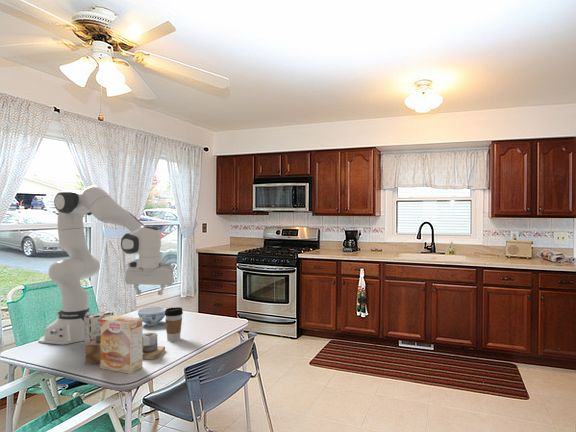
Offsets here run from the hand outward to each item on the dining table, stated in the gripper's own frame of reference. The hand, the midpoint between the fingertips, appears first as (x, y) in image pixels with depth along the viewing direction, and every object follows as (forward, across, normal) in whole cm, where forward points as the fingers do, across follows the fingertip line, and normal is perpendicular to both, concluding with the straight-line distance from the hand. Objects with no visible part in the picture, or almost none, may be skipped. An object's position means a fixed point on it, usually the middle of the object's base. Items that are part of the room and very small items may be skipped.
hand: (149, 294), depth 165 cm
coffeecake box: (+26, +4, +16) cm, 31 cm away
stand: (+26, +17, +10) cm, 32 cm away
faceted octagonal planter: (+20, -1, +2) cm, 21 cm away
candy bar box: (+26, +23, -2) cm, 35 cm away
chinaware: (+26, +15, -43) cm, 53 cm away
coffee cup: (+26, -5, -18) cm, 32 cm away
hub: (+25, -1, +2) cm, 25 cm away
